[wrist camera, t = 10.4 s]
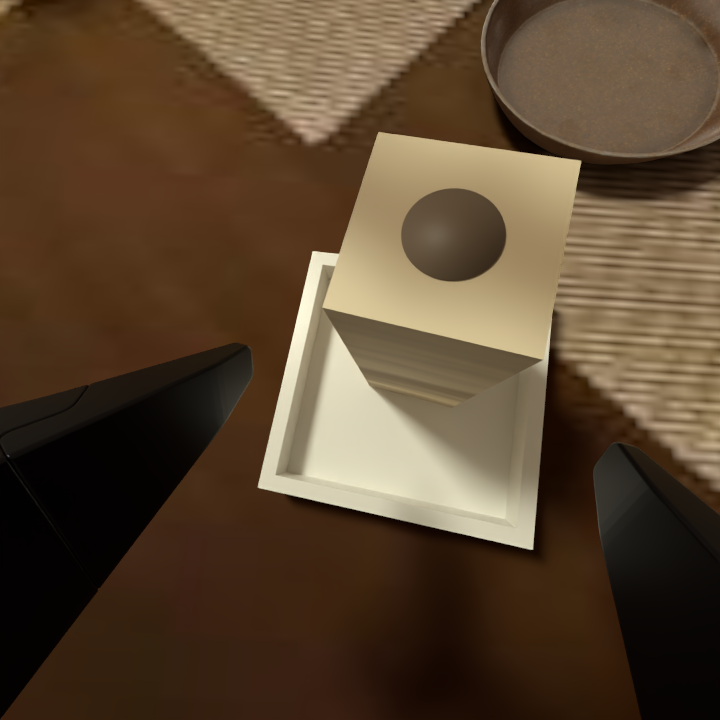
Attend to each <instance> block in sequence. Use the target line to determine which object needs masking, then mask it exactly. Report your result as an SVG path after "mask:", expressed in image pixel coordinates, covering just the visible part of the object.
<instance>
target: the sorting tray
mask: <svg viewBox="0 0 720 720" xmlns="http://www.w3.org/2000/svg"><path fill="white" fill-rule="evenodd" d="M338 257H339V254H332V253H323V252H315V251H313V253H312V257H311V261H310V266H309V270H308V274H307V278H306V283H305V287H304V291H303V296H302V300H301V304H300V308H299V313H298V317H297V321H296V326H295V330H294V334H293V339H292V343H291V347H290V351H289V356H288V360H287V364H286V369H285V373H284V377H283V381H282V386H281V390H280V394H279V399H278V403H277V407H276V412H275V416H274V420H273V424H272V429H271V433H270V437H269V442H268V446H267V450H266V454H265V459H264V463H263V467H262V472H261V476H260V480H259V485H258V488H262V489H266V490H271V491H275V492H280V493H284V494H288V495H293V496H297V497H301V498H306V499H310V500H315V501H319V502H323V503H328V504H332V505H337V506H341V507H345V508H350V509H354V510H359V511H363V512H367V513H372V514H376V515H381V516H385V517H389V518H394V519H398V520H403V521H407V522H411V523H416V524H420V525H425V526H429V527H433V528H438V529H442V530H446V531H451V532H455V533H460V534H464V535H468V536H473V537H477V538H482V539H486V540H490V541H495V542H499V543H504V544H508V545H512V546H517V547H521V548H526V549H530V550H533V543H534V531H535V518H536V506H537V494H538V481H539V469H540V456H541V444H542V432H543V419H544V407H545V395H546V382H547V370H548V357H549V345H550V333H551V323H550V329H549V334H548V339H547V344H546V350H545V355H544V360H542V361H540V362H538V363H537V364H535V365H533V366H531V367H529V368H527V369H525V370H523V371H521V372H519V373H517V374H515V375H514V376H512V377H510V378H508V379H506V380H504V381H502V382H500V383H498V384H496V385H494V386H492V387H491V388H489V389H487V390H485V391H483V392H481V393H479V394H477V395H475V396H473V397H471V398H469V399H468V400H466V401H464V402H462V403H460V404H458V405H456V406H454V407H452V408H451V407H447V406H444V405H440V404H436V403H432V402H429V401H425V400H421V399H418V398H414V397H410V396H407V395H403V394H399V393H395V392H392V391H388V390H384V389H381V388H377V387H373V386H370V385H369V384H368V382H367V381H366V379H365V377H364V376H363V374H362V372H361V371H360V369H359V367H358V366H357V364H356V363H355V361H354V359H353V358H352V356H351V354H350V353H349V351H348V349H347V348H346V346H345V344H344V343H343V341H342V339H341V338H340V336H339V334H338V333H337V331H336V330H335V328H334V326H333V325H332V323H331V321H330V320H329V318H328V316H327V315H326V313H325V311H324V310H323V308H322V306H323V303H324V300H325V297H326V294H327V291H328V288H329V285H330V281H331V278H332V275H333V272H334V269H335V266H336V263H337V260H338ZM551 320H552V318H551Z"/></svg>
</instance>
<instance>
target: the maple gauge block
mask: <svg viewBox="0 0 720 720" xmlns="http://www.w3.org/2000/svg"><path fill="white" fill-rule="evenodd" d="M580 166H581V161H579V160H572V159H565V158H558V157H551V156H544V155H537V154H530V153H523V152H516V151H509V150H501V149H494V148H487V147H480V146H473V145H466V144H459V143H452V142H445V141H438V140H431V139H424V138H417V137H410V136H403V135H396V134H388V133H381V132H378V135H377V138H376V141H375V144H374V147H373V151H372V154H371V157H370V160H369V163H368V166H367V169H366V172H365V175H364V179H363V182H362V185H361V188H360V191H359V194H358V197H357V200H356V204H355V207H354V210H353V213H352V216H351V219H350V222H349V225H348V228H347V232H346V235H345V238H344V241H343V244H342V247H341V250H340V253H339V257H338V260H337V263H336V266H335V269H334V272H333V275H332V278H331V281H330V285H329V288H328V291H327V294H326V297H325V300H324V303H323V306H322V308H323V310H324V311H325V313H326V315H327V316H328V318H329V320H330V321H331V323H332V325H333V326H334V328H335V330H336V331H337V333H338V334H339V336H340V338H341V339H342V341H343V343H344V344H345V346H346V348H347V349H348V351H349V353H350V354H351V356H352V358H353V359H354V361H355V363H356V364H357V366H358V367H359V369H360V371H361V372H362V374H363V376H364V377H365V379H366V381H367V382H368V384H369V385H370V386H373V387H377V388H381V389H384V390H388V391H392V392H395V393H399V394H403V395H407V396H410V397H414V398H418V399H421V400H425V401H429V402H432V403H436V404H440V405H444V406H447V407H451V408H452V407H454V406H456V405H458V404H460V403H462V402H464V401H466V400H468V399H469V398H471V397H473V396H475V395H477V394H479V393H481V392H483V391H485V390H487V389H489V388H491V387H492V386H494V385H496V384H498V383H500V382H502V381H504V380H506V379H508V378H510V377H512V376H514V375H515V374H517V373H519V372H521V371H523V370H525V369H527V368H529V367H531V366H533V365H535V364H537V363H538V362H540V361H542V360H544V355H545V350H546V344H547V339H548V334H549V329H550V323H551V318H552V313H553V308H554V302H555V297H556V292H557V287H558V281H559V276H560V271H561V265H562V260H563V255H564V250H565V244H566V239H567V234H568V229H569V223H570V218H571V213H572V208H573V202H574V197H575V192H576V187H577V181H578V176H579V171H580Z"/></svg>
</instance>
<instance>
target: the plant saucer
mask: <svg viewBox="0 0 720 720" xmlns="http://www.w3.org/2000/svg"><path fill="white" fill-rule="evenodd" d="M481 54H482V61H483V66H484V69H485V73H486V77H487V80H488V83H489V85H490V88H491V90H492V93H493V95H494V97H495V99H496V100H497V102H498V104H499V106H500V108H501V109H502V110H503V112H504V113H505V115H506V116H507V118H508V119H509V120H510V122H511V123H512V124H513V125H514V126H515V127H516V128H517V129H518V130H519V131H520V132H521V133H522V134H523V135H524V136H525V137H526V138H528V139H529V140H530V141H532V142H533V143H535V144H536V145H538V146H540V147H541V148H543V149H545V150H547V151H549V152H551V153H553V154H556V155H558V156H561V157H564V158H567V159H572V160H579V161H581V162H584V163H590V164H601V165H619V164H632V163H639V162H645V161H651V160H656V159H661V158H666V157H670V156H674V155H678V154H681V153H685V152H688V151H691V150H694V149H697V148H699V147H702V146H705V145H708V144H710V143H712V142H715V141H717V140H719V139H720V0H495V1H494V3H493V4H492V6H491V8H490V10H489V12H488V15H487V17H486V20H485V23H484V27H483V32H482V39H481Z"/></svg>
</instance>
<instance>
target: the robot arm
mask: <svg viewBox="0 0 720 720" xmlns="http://www.w3.org/2000/svg"><path fill="white" fill-rule="evenodd" d="M252 376H253V362H252V351H251V348H250V347H249V346H247V345H244V344H240V343H232V344H228V345H225V346H221V347H218V348H214V349H211V350H207V351H204V352H200V353H197V354H193V355H190V356H186V357H183V358H179V359H176V360H172V361H169V362H165V363H162V364H158V365H155V366H151V367H148V368H144V369H141V370H137V371H134V372H130V373H127V374H123V375H120V376H117V377H113V378H110V379H106V380H103V381H99V382H96V383H92V384H90V386H88V385H85V386H81V387H78V388H74V389H71V390H67V391H64V392H60V393H56V394H53V395H49V396H45V397H42V398H38V399H34V400H30V401H26V402H22V403H18V404H14V405H10V406H5V407H1V408H0V719H1V717H2V716H3V715H4V714H5V712H6V711H7V710H8V708H9V707H10V706H11V704H12V703H13V702H14V700H15V699H16V698H17V696H18V695H19V694H20V692H21V691H22V690H23V689H24V687H25V686H26V685H27V683H28V682H29V681H30V679H31V678H32V677H33V675H34V674H35V673H36V671H37V670H38V669H39V668H40V666H41V665H42V664H43V662H44V661H45V660H46V658H47V657H48V656H49V654H50V653H51V652H52V650H53V649H54V648H55V646H56V645H57V644H58V643H59V641H60V640H61V639H62V637H63V636H64V635H65V633H66V632H67V631H68V629H69V628H70V627H71V625H72V624H73V623H74V622H75V620H76V619H77V618H78V616H79V615H80V614H81V612H82V611H83V610H84V608H85V607H86V606H87V604H88V603H89V602H90V600H91V599H92V598H93V597H94V595H95V594H96V593H97V591H98V588H100V587H101V586H102V584H103V583H104V582H105V580H106V579H107V578H108V576H109V575H110V574H111V572H112V571H113V570H114V568H115V567H116V566H117V565H118V563H119V562H120V561H121V559H122V558H123V557H124V555H125V554H126V553H127V551H128V550H129V549H130V547H131V546H132V545H133V544H134V542H135V541H136V540H137V538H138V537H139V536H140V534H141V533H142V532H143V530H144V529H145V528H146V526H147V525H148V524H149V522H150V521H151V520H152V519H153V517H154V516H155V515H156V513H157V512H158V511H159V509H160V508H161V507H162V505H163V504H164V503H165V501H166V500H167V499H168V497H169V496H170V495H171V494H172V492H173V491H174V490H175V488H176V487H177V486H178V484H179V483H180V482H181V480H182V479H183V478H184V476H185V475H186V474H187V472H188V471H189V470H190V469H191V467H192V466H193V465H194V463H195V462H196V461H197V459H198V458H199V457H200V455H201V454H202V453H203V451H204V450H205V449H206V447H207V446H208V445H209V444H210V442H211V441H212V440H213V438H214V437H215V436H216V434H217V433H218V432H219V430H220V429H221V428H222V426H223V425H224V423H225V422H226V420H227V419H228V417H229V416H230V414H231V412H232V411H233V409H234V407H235V406H236V404H237V402H238V401H239V399H240V397H241V396H242V394H243V392H244V391H245V389H246V387H247V386H248V384H249V382H250V381H251V378H252ZM593 479H594V488H595V497H596V506H597V515H598V525H599V532H600V539H601V544H602V549H603V553H604V557H605V562H606V566H607V571H608V575H609V579H610V584H611V588H612V592H613V597H614V601H615V605H616V610H617V614H618V619H619V623H620V627H621V632H622V636H623V640H624V645H625V649H626V653H627V658H628V662H629V667H630V671H631V675H632V680H633V684H634V688H635V693H636V697H637V702H638V706H639V710H640V715H641V719H642V720H720V515H719V514H718V513H717V512H716V511H714V510H713V509H712V508H711V507H709V506H708V505H707V504H706V503H705V502H703V501H702V500H701V499H700V498H699V497H697V496H696V495H695V494H694V493H692V492H691V491H690V490H689V489H688V488H686V487H685V486H684V485H683V484H682V483H680V482H679V481H678V480H677V479H676V478H674V477H673V476H672V475H671V474H669V473H668V472H667V471H666V470H665V469H663V468H662V467H661V466H660V465H659V464H657V463H656V462H655V461H654V460H652V459H651V458H650V457H649V456H648V455H646V454H645V453H644V452H643V451H642V450H640V449H639V448H638V447H636V446H633V445H629V444H625V443H621V442H614V443H612V444H611V445H610V446H609V447H608V449H607V450H606V451H605V453H604V454H603V455H602V457H601V458H600V459H599V461H598V462H597V463H596V465H595V467H594V470H593Z"/></svg>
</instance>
